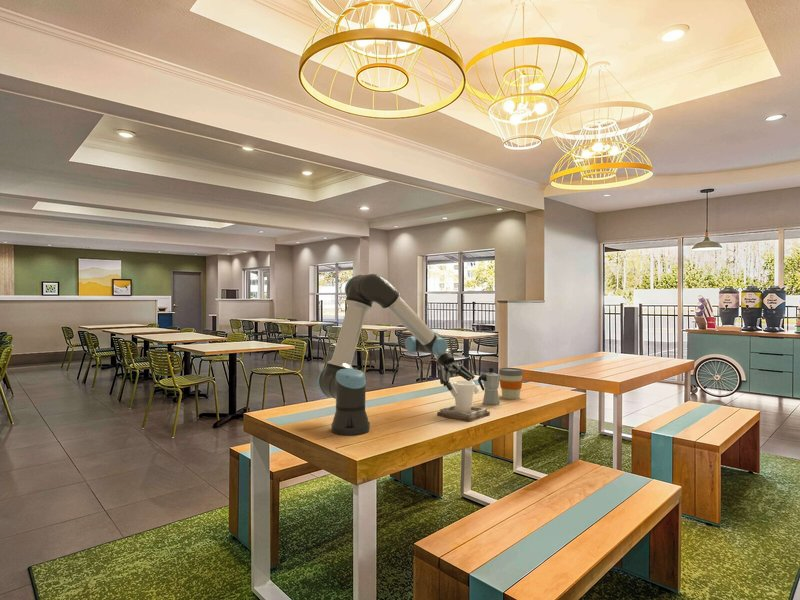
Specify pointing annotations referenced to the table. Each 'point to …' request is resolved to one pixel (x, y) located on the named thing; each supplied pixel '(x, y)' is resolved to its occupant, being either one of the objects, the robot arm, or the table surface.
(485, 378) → the coffee maker
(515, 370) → the reusable coffee cup
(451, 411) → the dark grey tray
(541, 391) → the table surface
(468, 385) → the foam cup
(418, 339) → the robot arm
